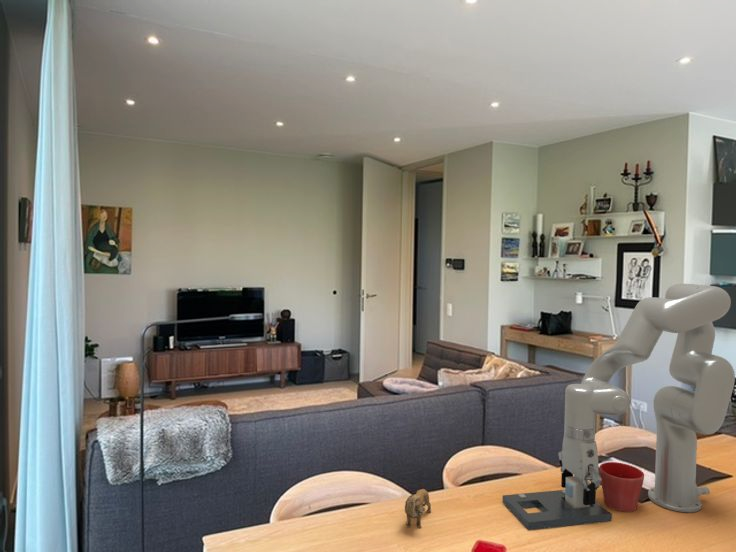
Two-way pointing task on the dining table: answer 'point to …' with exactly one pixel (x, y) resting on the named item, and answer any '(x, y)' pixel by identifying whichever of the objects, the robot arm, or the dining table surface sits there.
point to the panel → (553, 510)
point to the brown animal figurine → (417, 506)
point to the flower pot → (621, 485)
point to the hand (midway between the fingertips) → (577, 495)
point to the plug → (575, 492)
